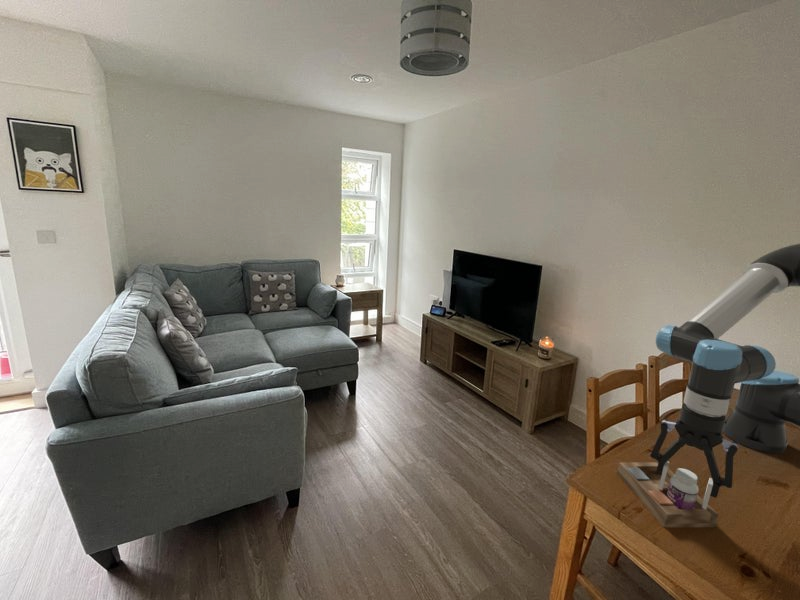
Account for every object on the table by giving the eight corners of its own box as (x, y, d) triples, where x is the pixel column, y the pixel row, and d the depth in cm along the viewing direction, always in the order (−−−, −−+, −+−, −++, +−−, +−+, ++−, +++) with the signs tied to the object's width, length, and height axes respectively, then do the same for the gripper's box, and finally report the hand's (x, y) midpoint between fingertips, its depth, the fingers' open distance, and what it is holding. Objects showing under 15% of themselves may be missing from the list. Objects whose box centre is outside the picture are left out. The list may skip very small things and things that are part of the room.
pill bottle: (658, 500, 89) (666, 466, 87) (679, 499, 90) (687, 465, 87) (676, 517, 84) (685, 482, 82) (698, 517, 84) (707, 481, 82)
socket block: (659, 473, 100) (662, 461, 99) (715, 527, 83) (719, 512, 82) (617, 473, 100) (619, 461, 99) (664, 527, 83) (667, 512, 82)
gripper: (646, 398, 85) (629, 481, 90) (768, 435, 72) (740, 531, 77) (652, 388, 90) (635, 467, 96) (767, 420, 77) (740, 511, 82)
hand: (682, 495), depth 86 cm, fingers open, 8 cm apart
